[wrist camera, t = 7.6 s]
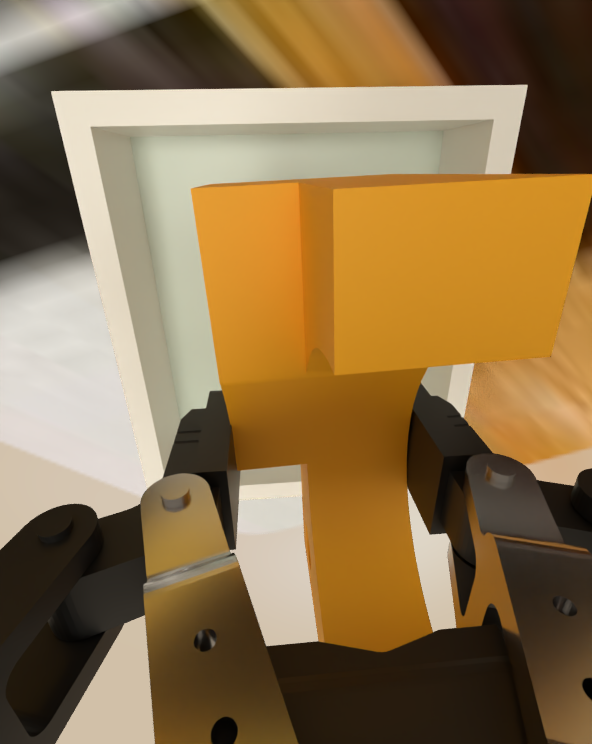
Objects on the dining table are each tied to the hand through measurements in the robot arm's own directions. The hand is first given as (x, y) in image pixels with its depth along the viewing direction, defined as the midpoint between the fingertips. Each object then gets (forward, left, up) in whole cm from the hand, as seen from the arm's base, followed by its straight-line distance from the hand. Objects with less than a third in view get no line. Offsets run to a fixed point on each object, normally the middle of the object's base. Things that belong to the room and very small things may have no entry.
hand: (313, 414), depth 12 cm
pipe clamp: (0, 0, -1) cm, 1 cm away
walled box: (0, 0, -12) cm, 12 cm away
